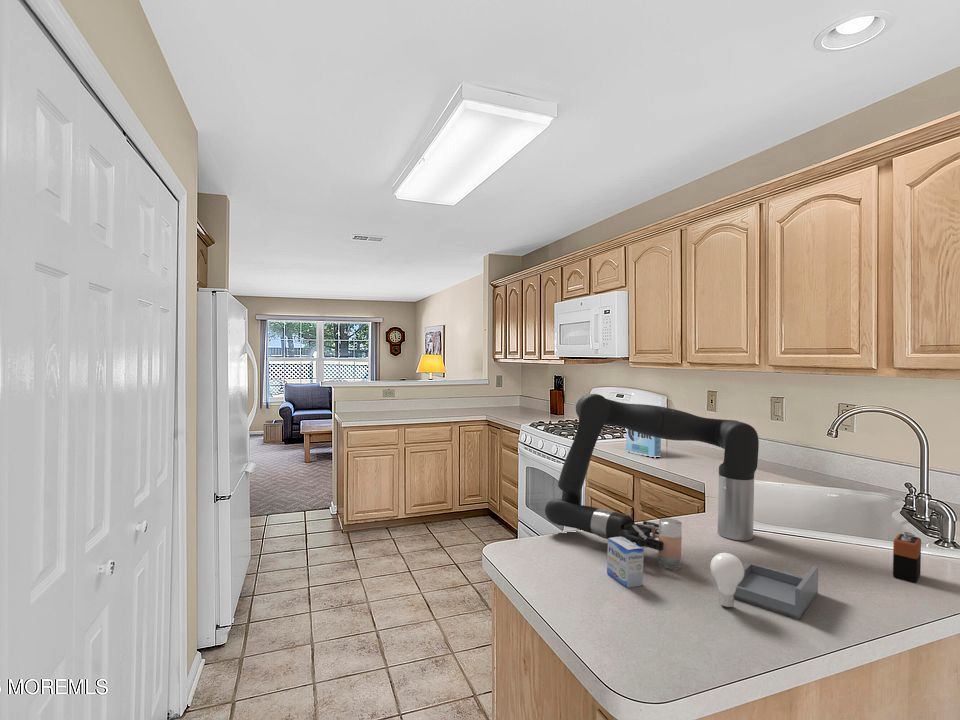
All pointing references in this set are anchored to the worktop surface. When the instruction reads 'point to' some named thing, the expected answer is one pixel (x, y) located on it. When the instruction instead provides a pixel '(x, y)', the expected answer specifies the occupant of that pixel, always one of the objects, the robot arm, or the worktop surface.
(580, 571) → the worktop surface
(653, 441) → the gum box
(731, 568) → the lightbulb
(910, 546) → the battery
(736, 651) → the worktop surface
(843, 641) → the worktop surface
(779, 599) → the tote
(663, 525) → the tin can
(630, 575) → the medicine box
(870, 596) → the worktop surface
